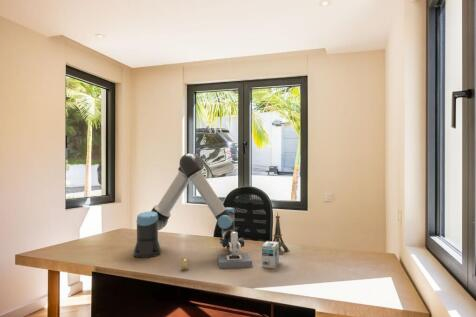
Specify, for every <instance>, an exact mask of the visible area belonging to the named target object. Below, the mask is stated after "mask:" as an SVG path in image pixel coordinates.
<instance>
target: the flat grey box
mask: <svg viewBox="0 0 476 317" xmlns="http://www.w3.org/2000/svg"><path fill="white" fill-rule="evenodd" d="M217 261H218V262H217V263H218V266H219V269H223V270H224V269H235V268H236V269H237V268H238V269H239V268H252V267H253V260H252V259H251V257H250V256H249V254H248V253H247V252H246V253H245V252H244V253H238V259H231V253H226V254H224V253H223V254H219V253H218V254H217Z"/></svg>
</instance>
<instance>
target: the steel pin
mask: <svg viewBox="0 0 476 317" xmlns="http://www.w3.org/2000/svg"><path fill="white" fill-rule="evenodd" d="M238 234H239V233H238V231H235V232H231V245H232V251H230V254H231V259H238V254H239V249H238V238H239V236H238Z"/></svg>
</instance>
